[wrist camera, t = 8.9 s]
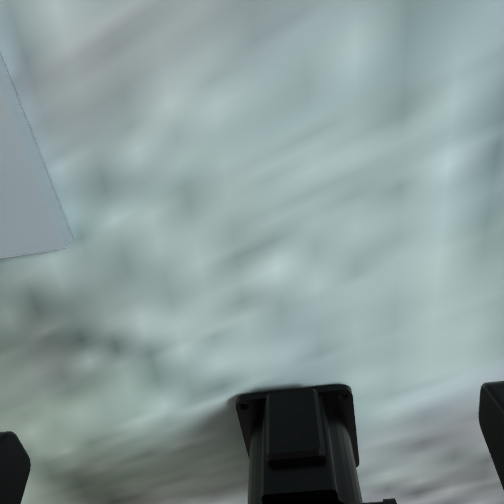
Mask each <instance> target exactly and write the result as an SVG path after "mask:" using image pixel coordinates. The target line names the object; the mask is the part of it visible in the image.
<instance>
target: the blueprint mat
mask: <svg viewBox="0 0 504 504" xmlns="http://www.w3.org/2000/svg"><path fill="white" fill-rule="evenodd" d="M72 241H73V237H72V234H71V232H70V229H69V227H68V224H67V222H66V219H65V217H64V214H63V212H62V209H61V206H60V204H59V201H58V199H57V196H56V194H55V191H54V189H53V186H52V184H51V181H50V179H49V176H48V173H47V171H46V168H45V166H44V163H43V161H42V158H41V156H40V153H39V151H38V148H37V146H36V143H35V140H34V138H33V135H32V133H31V130H30V128H29V125H28V123H27V120H26V118H25V115H24V112H23V110H22V107H21V105H20V102H19V100H18V97H17V95H16V92H15V90H14V87H13V85H12V82H11V79H10V77H9V74H8V72H7V69H6V67H5V64H4V62H3V59H2V57H1V54H0V259H1V258H8V257H15V256H22V255H28V254H35V253H42V252H49V251H55V250H62V249H66V247H67V246H68V245H69V244H70V243H71V242H72Z"/></svg>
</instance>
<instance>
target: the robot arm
mask: <svg viewBox="0 0 504 504" xmlns="http://www.w3.org/2000/svg"><path fill="white" fill-rule="evenodd" d="M342 393H345V394H343V395H341V394H342ZM243 403H246V405H244V404H243ZM236 410H237V414H238V418H239V422H240V425H241V429H242V433H243V437H244V441H245V444H246V448H247V452H248V456H249V482H248V504H397V503H396V500H395V498H392V499H383V501H382V502H369V503H363V502H362V497H361V491H360V486H359V481H358V476H357V470H356V467H358V465H359V455H358V445H357V435H356V425H355V415H354V405H353V395H352V391H351V388H350V387H349V386H347V385H332V386H323V387H313V388H304V389H294V390H285V391H275V392H266V393H256V394H247V395H241V396H239V397H238V398H237V399H236ZM479 423H480V427H481V430H482V433H483V436H484V438H485V441H486V444H487V446H488V449H489V452H490V454H491V457H492V460H493V463H494V465H495V468H496V471H497V473H498V476H499V479H500V481H501V484H502V487H503V489H504V381H498V382H488V383H484V384H483V385H482V386H481V390H480V403H479ZM30 466H31V464H30V458H29V456H28V454H27V452H26V450H25V449H24V447H23V445H22V444H21V442H20V440H19V439H18V437H17V435H16V434H15V433H13V432H11V431H7V432H0V504H21V500H22V497H23V493H24V490H25V486H26V483H27V479H28V476H29V472H30Z"/></svg>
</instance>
